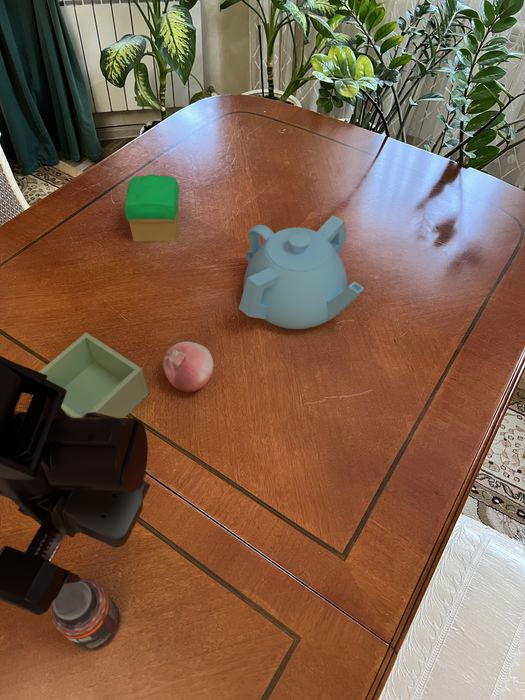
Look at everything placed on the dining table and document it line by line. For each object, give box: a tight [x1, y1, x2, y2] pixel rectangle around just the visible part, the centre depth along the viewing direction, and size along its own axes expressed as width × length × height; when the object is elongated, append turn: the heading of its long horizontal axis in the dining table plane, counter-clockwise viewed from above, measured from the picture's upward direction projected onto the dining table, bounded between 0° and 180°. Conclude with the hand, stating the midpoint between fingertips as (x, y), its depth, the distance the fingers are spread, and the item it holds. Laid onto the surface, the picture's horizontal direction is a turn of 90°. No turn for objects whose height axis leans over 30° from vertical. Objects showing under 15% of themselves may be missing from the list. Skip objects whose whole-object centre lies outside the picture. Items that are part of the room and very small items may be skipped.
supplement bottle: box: [50, 577, 121, 652], centre depth 63 cm, size 6×6×11 cm
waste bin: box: [38, 331, 149, 418], centre depth 84 cm, size 12×12×7 cm
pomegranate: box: [162, 341, 215, 393], centre depth 87 cm, size 8×8×7 cm
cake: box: [124, 173, 180, 242], centre depth 108 cm, size 10×11×10 cm
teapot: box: [238, 214, 365, 330], centre depth 96 cm, size 19×19×14 cm
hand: (98, 536), depth 61 cm, fingers open, 9 cm apart
